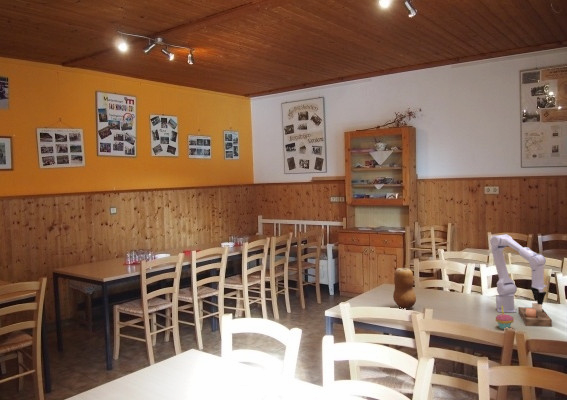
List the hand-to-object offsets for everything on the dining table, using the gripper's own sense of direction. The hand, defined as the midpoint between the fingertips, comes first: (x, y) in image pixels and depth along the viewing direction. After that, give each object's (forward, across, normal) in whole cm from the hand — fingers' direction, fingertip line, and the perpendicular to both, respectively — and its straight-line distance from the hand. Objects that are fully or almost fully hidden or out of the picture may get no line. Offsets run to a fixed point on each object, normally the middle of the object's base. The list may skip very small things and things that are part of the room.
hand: (538, 302), depth 254 cm
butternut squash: (+10, +15, +71) cm, 73 cm away
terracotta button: (+7, -5, +5) cm, 10 cm away
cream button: (+7, +5, 0) cm, 9 cm away
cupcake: (+10, -16, +20) cm, 27 cm away
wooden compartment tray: (+10, 0, +2) cm, 10 cm away
